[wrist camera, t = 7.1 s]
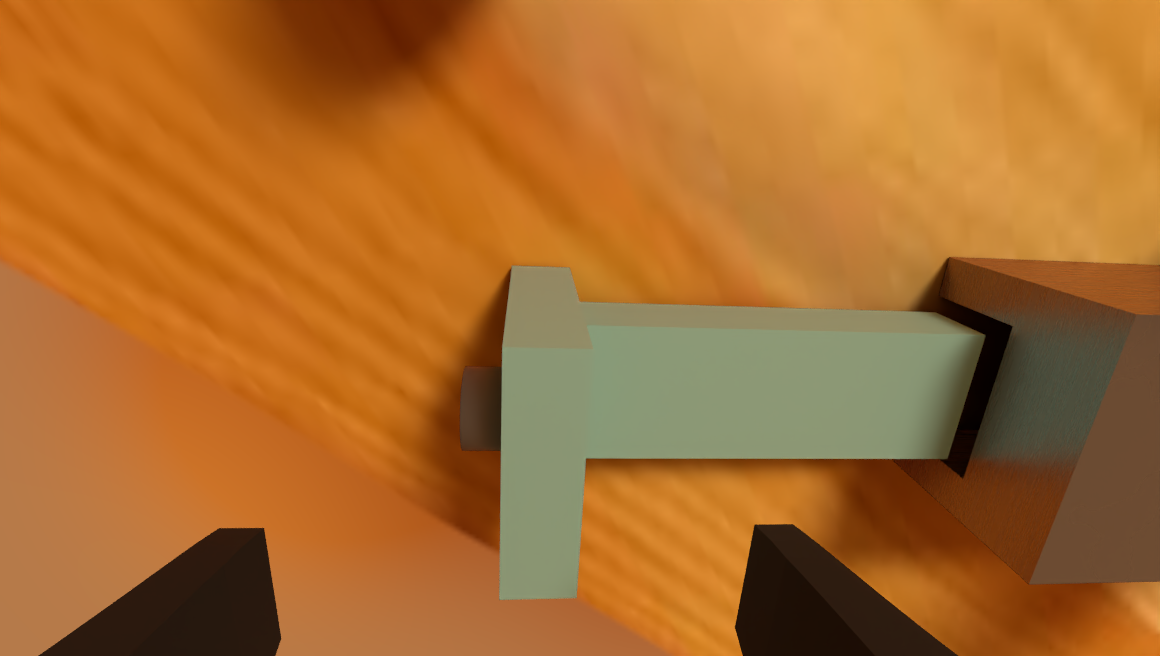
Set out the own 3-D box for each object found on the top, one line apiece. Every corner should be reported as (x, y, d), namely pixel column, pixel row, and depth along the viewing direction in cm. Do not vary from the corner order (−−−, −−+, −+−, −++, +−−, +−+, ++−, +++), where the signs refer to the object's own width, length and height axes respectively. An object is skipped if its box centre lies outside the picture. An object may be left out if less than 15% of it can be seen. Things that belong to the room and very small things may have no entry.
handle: (936, 280, 17) (1150, 360, 11) (891, 444, 19) (1055, 587, 13) (475, 264, 16) (443, 345, 10) (476, 442, 17) (450, 600, 12)
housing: (1183, 266, 18) (1456, 323, 12) (1101, 461, 20) (1303, 578, 15) (949, 256, 17) (1136, 314, 12) (893, 460, 19) (1029, 584, 14)
